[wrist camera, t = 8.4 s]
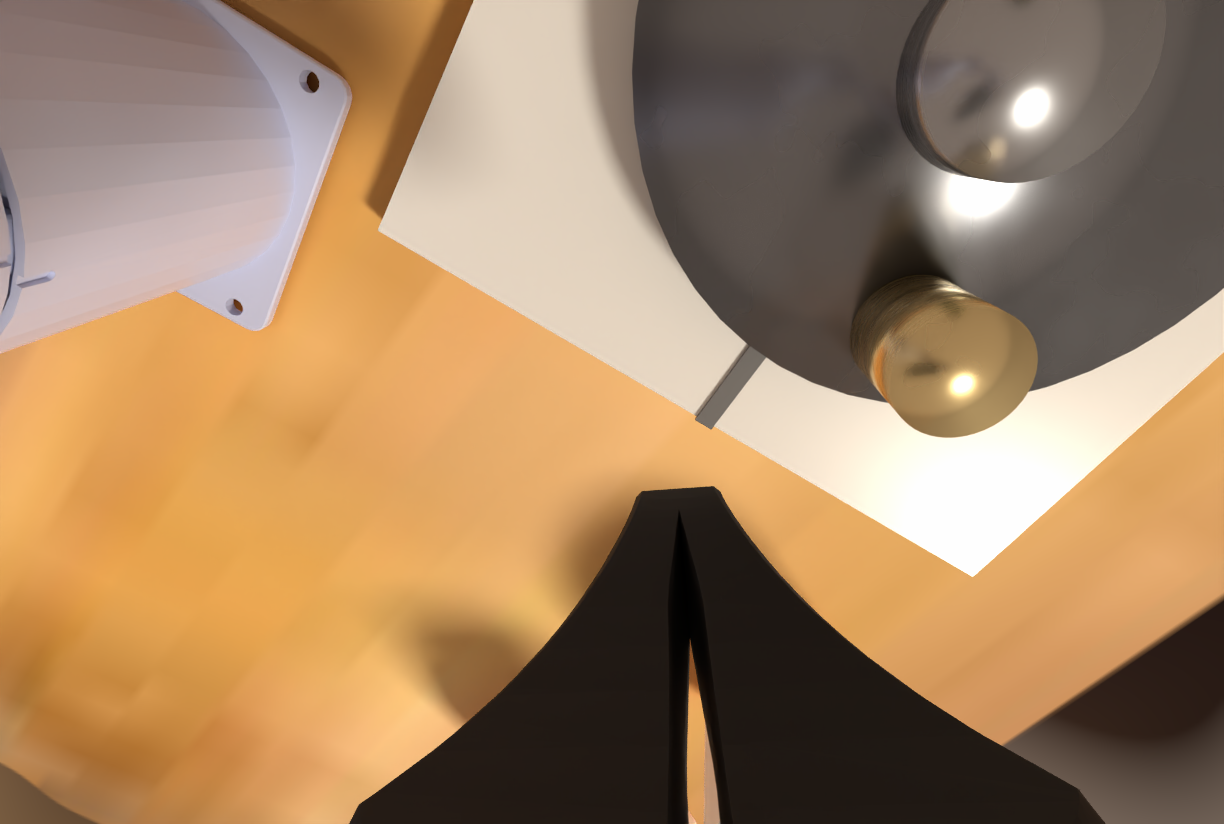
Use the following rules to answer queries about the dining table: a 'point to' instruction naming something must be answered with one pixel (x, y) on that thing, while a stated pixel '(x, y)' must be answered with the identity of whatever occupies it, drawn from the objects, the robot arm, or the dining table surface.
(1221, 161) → the handwheel
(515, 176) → the wheel base
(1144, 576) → the dining table surface
